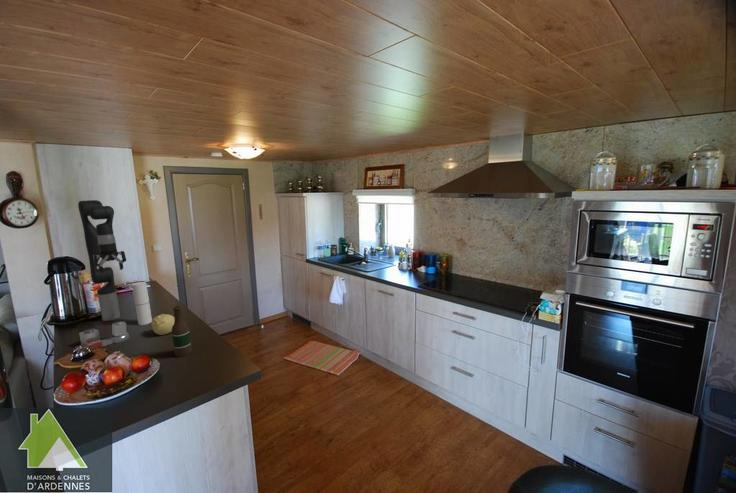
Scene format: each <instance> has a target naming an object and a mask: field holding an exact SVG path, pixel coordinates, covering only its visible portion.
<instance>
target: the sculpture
mask: <svg viewBox="0 0 736 493" xmlns="http://www.w3.org/2000/svg"><path fill="white" fill-rule="evenodd" d="M174 321H175V319H174V315H171V314H166V313H161V314H158V315H157V316H155V317H154V318H152V322H151V327H152V328H151V329H152V331H153V333H155V334H156V335H159V336H165V335H168V334H170V333H172V326H173V325H174Z"/></svg>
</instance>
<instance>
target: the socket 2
mask: <svg viewBox="0 0 736 493" xmlns="http://www.w3.org/2000/svg"><path fill="white" fill-rule="evenodd" d="M111 328H112V330H111V332H112V334H111V335H114V336H115V337H116V336H121V335H126V332H127V323H126V322H125V321H117V322H112V326H111Z"/></svg>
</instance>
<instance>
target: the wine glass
mask: <svg viewBox="0 0 736 493" xmlns="http://www.w3.org/2000/svg"><path fill="white" fill-rule="evenodd" d="M129 339H130V335H129V332H128V331H126V335H121V336H116V337H115V336H114V335H113V334H111V335H110V336H109V338H105V339H102V340H101V339H100V340H98V341H94V342H91V343H88V344H84V345H81V344H80V345H78V346H75V350H76V349H77V348H78V347H80V346H86V347H90V348H97V349H99V348H98V347H100V348H102V347H105V346H108V345H112V344H120V343H123V342H126V341H128V340H129Z"/></svg>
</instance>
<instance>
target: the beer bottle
mask: <svg viewBox="0 0 736 493" xmlns="http://www.w3.org/2000/svg"><path fill="white" fill-rule="evenodd" d="M172 310H173V314H174V315H173V317H174V319H175V321H174V325H173V326H172V332H171V336H172V342H173V343H172V345H173V350H174V355H175V357H180V358H182V357H185V356H189V355H190V354H191V353H192V351H193V350H192V348H193V347H192V341H191V335H190V334H191V332H190V328H189V326H188V324H187V322H185V321H184V317H183V313H182V306H181V305H177V306H173V308H172Z"/></svg>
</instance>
